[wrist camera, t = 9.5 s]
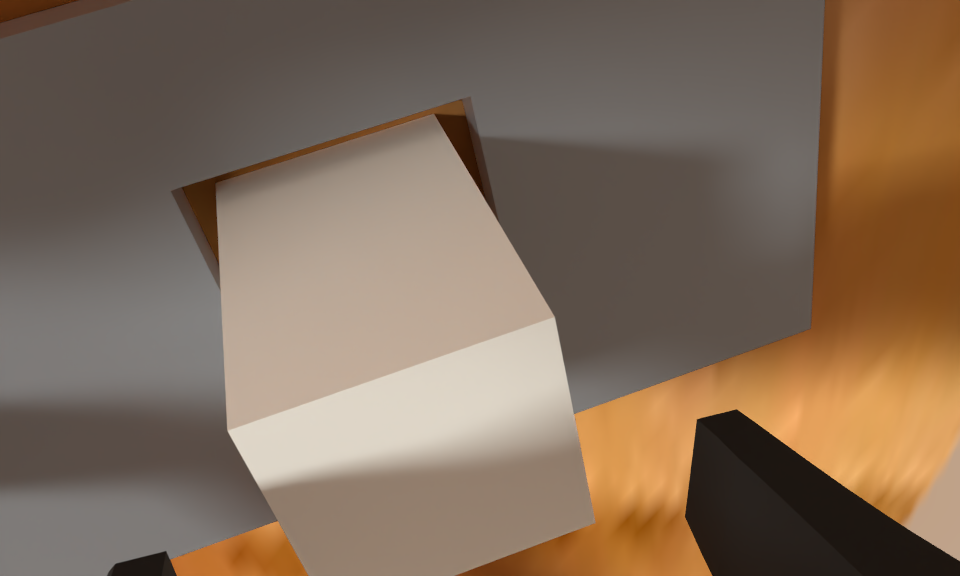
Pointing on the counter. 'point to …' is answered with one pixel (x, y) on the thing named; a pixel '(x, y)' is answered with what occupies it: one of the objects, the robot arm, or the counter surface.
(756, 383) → the counter surface
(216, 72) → the socket block
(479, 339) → the plug
